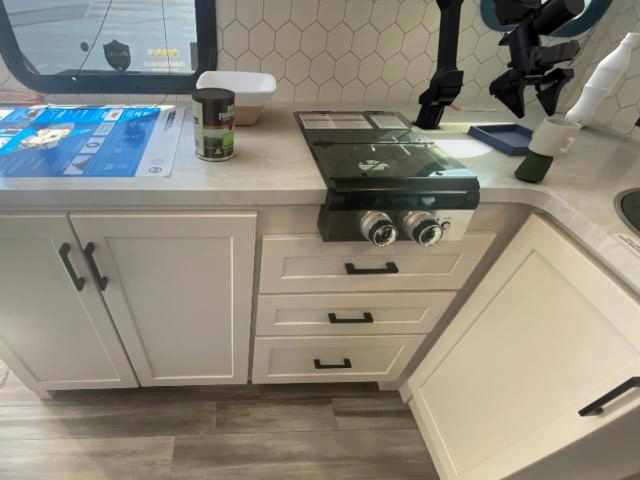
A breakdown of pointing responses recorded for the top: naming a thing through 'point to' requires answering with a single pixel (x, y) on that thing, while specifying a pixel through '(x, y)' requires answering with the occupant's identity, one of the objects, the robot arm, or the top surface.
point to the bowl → (242, 91)
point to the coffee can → (213, 123)
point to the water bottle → (602, 81)
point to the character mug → (547, 147)
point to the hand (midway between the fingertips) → (536, 116)
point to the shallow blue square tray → (504, 137)
